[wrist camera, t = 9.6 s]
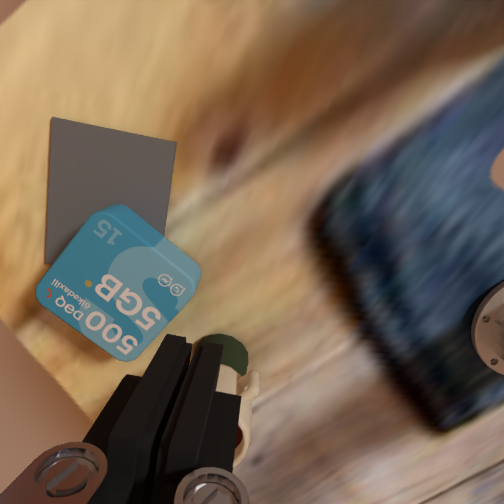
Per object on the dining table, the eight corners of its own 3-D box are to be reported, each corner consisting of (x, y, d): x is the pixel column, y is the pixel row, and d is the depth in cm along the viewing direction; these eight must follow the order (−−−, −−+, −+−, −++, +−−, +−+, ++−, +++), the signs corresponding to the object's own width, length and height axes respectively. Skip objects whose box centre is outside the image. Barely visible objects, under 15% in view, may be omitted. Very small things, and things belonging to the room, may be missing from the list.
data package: (201, 287, 36) (127, 368, 38) (207, 271, 40) (140, 345, 43) (98, 203, 34) (27, 296, 36) (116, 196, 38) (51, 279, 41)
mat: (176, 142, 37) (175, 142, 36) (157, 283, 41) (156, 284, 41) (53, 117, 36) (51, 117, 36) (47, 262, 40) (45, 263, 40)
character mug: (206, 400, 45) (187, 499, 33) (166, 360, 44) (129, 447, 31) (277, 349, 43) (285, 434, 31) (237, 305, 42) (228, 375, 29)
